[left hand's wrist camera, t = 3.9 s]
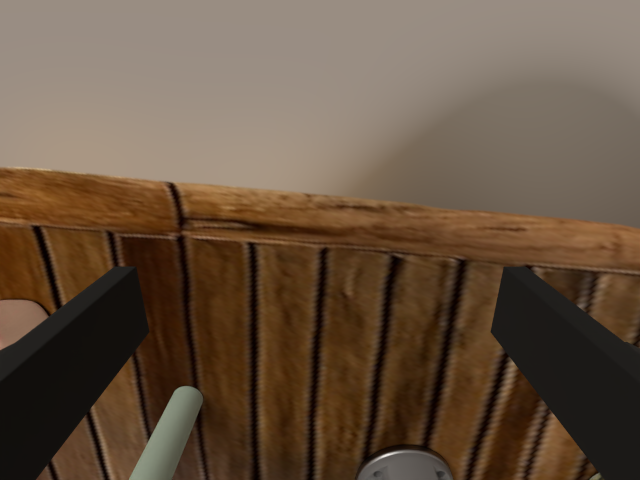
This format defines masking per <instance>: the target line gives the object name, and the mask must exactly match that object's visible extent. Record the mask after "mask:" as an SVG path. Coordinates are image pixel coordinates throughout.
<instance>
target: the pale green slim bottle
mask: <svg viewBox="0 0 640 480" xmlns="http://www.w3.org/2000/svg"><path fill="white" fill-rule="evenodd" d="M202 402H203V396H202V394H201V393H200V391H198V390H197V389H195V388H193V387H190V386H183V387H180V388H178V389H176V390H175V392H174V393H173V395H172V397H171V399H170V401H169V403H168V405H167V407H166V409H165V411H164V413H163V415H162V417H161V419H160V420H159V422H158V424H157V426H156V428H155V430H154V432H153V434H152V436H151V438H150V440H149V442H148V444H147V446H146V448H145V449H144V451H143V453H142V455H141V457H140V459H139V461H138V463H137V465H136V467H135V469H134V471H133V473H132V475H131V476H130V478H129V480H171V479H172V477H173V474H174V472H175V470H176V467H177V465H178V462H179V460H180V457H181V455H182V452H183V450H184V447H185V445H186V442H187V440H188V437H189V435H190V432H191V430H192V427H193V425H194V422H195V420H196V417H197V415H198V412H199V410H200V407H201V405H202Z"/></svg>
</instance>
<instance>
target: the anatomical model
mask: <svg viewBox="0 0 640 480" xmlns="http://www.w3.org/2000/svg"><path fill="white" fill-rule="evenodd" d="M48 317H49V316H48V315H47V313H46V312H45V311H44V309H43V308H42V307H41V306H40V305H38V304H37V303H35V302H32V301H28V300H1V301H0V350H1V349H3V348H5V347H7V346H9V345H11V344H13V343H15V342H16V341H18V340H19V339H20V338H22V337H23V336H24V335H26V334H27V333H28V332H30V331H31V330H32V329H34V328H35V327H36V326H37V325H39V324H40V323H41V322H43V321H44V320H45V319H47V318H48Z"/></svg>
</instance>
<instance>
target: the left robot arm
mask: <svg viewBox="0 0 640 480" xmlns="http://www.w3.org/2000/svg"><path fill="white" fill-rule="evenodd" d="M148 333H149V328H148V323H147V318H146V313H145V308H144V303H143V298H142V293H141V288H140V284H139V279H138V274H137V269H136V267H114V268H112V269H111V270H110V271H108V272H107V273H106V274H104V275H103V276H102V277H100V278H99V279H98V280H97V281H95V282H94V283H93V284H91V285H90V286H89V287H87V288H86V289H85V290H83V291H82V292H81V293H79V294H78V295H77V296H76V297H74V298H73V299H72V300H70V301H69V302H68V303H66V304H65V305H64V306H62V307H61V308H60V309H58V310H57V311H56V312H55V313H53V314H52V315H51V316H49V317H48V318H47V319H45V320H44V321H43V322H41V323H40V324H39V325H37V326H36V327H35V328H34V329H32V330H31V331H30V332H28V333H27V334H26V335H24V336H23V337H22V338H20V339H19V340H18V341H16V342H15V343H13V344H11V345H9V346H7V347H5V348H3V349H1V350H0V480H36V479H37V477H38V476H39V475H40V473H41V472H42V471H43V469H44V468H45V467H46V466H47V464H48V463H49V462H50V460H51V459H52V458H53V456H54V455H55V454H56V453H57V451H58V450H59V449H60V447H61V446H62V445H63V443H64V442H65V441H66V440H67V438H68V437H69V436H70V434H71V433H72V432H73V431H74V429H75V428H76V427H77V425H78V424H79V423H80V421H81V420H82V419H83V418H84V416H85V415H86V414H87V412H88V411H89V410H90V408H91V407H92V406H93V405H94V403H95V402H96V401H97V399H98V398H99V397H100V395H101V394H102V393H103V392H104V390H105V389H106V388H107V386H108V385H109V384H110V382H111V381H112V380H113V379H114V377H115V376H116V375H117V373H118V372H119V371H120V369H121V368H122V367H123V366H124V364H125V363H126V362H127V360H128V359H129V358H130V356H131V355H132V354H133V353H134V351H135V350H136V349H137V347H138V346H139V345H140V343H141V342H142V341H143V340H144V338H145V337H146V336H147V334H148ZM491 333H492V334H493V336H494V337H495V338H496V340H497V341H498V342H499V343H500V345H501V346H502V347H503V349H504V350H505V351H506V353H507V354H508V355H509V356H510V358H511V359H512V360H513V362H514V363H515V364H516V366H517V367H518V368H519V369H520V371H521V372H522V373H523V375H524V376H525V377H526V379H527V380H528V381H529V382H530V384H531V385H532V386H533V388H534V389H535V390H536V392H537V393H538V394H539V395H540V397H541V398H542V399H543V401H544V402H545V403H546V405H547V406H548V407H549V408H550V410H551V411H552V412H553V414H554V415H555V416H556V418H557V419H558V420H559V421H560V423H561V424H562V425H563V427H564V428H565V429H566V431H567V432H568V433H569V434H570V436H571V437H572V438H573V440H574V441H575V442H576V443H577V445H578V446H579V447H580V449H581V450H582V451H583V453H584V454H585V455H586V456H587V458H588V459H589V460H590V462H591V463H592V464H593V466H594V467H595V468H596V469H597V471H598V472H599V473H600V475H601V476H602V477H603V479H604V480H640V348H638V347H636V346H634V345H632V344H630V343H628V342H624V341H622V340H621V339H620V338H618V337H617V336H616V335H614V334H613V333H612V332H610V331H609V330H608V329H606V328H605V327H604V326H603V325H601V324H600V323H599V322H597V321H596V320H595V319H593V318H592V317H591V316H589V315H588V314H587V313H585V312H584V311H583V310H582V309H580V308H579V307H578V306H576V305H575V304H574V303H572V302H571V301H570V300H568V299H567V298H566V297H564V296H563V295H562V294H561V293H559V292H558V291H557V290H555V289H554V288H553V287H551V286H550V285H549V284H547V283H546V282H545V281H543V280H542V279H541V278H540V277H538V276H537V275H536V274H534V273H533V272H532V271H530V270H529V269H528V268H526V267H504V269H503V274H502V279H501V284H500V288H499V293H498V298H497V303H496V308H495V313H494V318H493V323H492V328H491ZM355 480H453V477H452V474H451V471H450V468H449V466H448V464H447V462H446V461H445V460H444V458H443V457H441V456H440V455H439V454H438V453H436V452H434V451H432V450H430V449H428V448H425V447H421V446H414V445H399V446H393V447H389V448H386V449H383V450H380V451H378V452H376V453H374V454H373V455H371V456H370V457H368V458H367V459H366V460H365V461H364V462H363V463H362V464H361V466H360V467H359V469H358V471H357V474H356V479H355Z"/></svg>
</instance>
